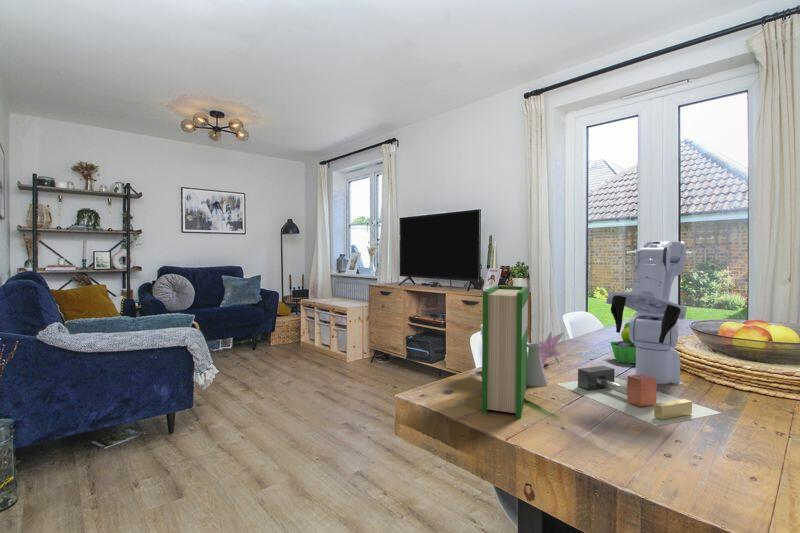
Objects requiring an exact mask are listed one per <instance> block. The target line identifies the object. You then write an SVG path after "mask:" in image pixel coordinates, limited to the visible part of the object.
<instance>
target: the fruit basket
mask: <svg viewBox="0 0 800 533" xmlns="http://www.w3.org/2000/svg"><path fill="white" fill-rule="evenodd" d="M629 325H630V321H628V322H626V323H625V324H624V326H623V329H622V330H621V332H620V333H621V334H620V336H621V339H622V340H619V341H610V342H609V343H610V346H611V350H612V352H613V356H614V359H615V358H616V359H615V360H616V361H617V362H618V363H619V362H627V363H626V364H630V363H636V346H634V345H635V343H632V342H631V341H630V339H629Z"/></svg>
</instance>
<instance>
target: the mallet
mask: <svg viewBox="0 0 800 533" xmlns="http://www.w3.org/2000/svg"><path fill="white" fill-rule="evenodd" d="M626 381H627V387H625V386H622V385H619V384H616V383H614V382H611V381H608V380H605V379H602V378H599V377H597V384H598V385H601V386H603V387H606V388H609V389H611V390H614V391H617V392H619V393H622V394H625V395H627V402H629V403H632V404H634V405H637V406H640V407H642V406H648V405H654V404H656V397H657V390H658V384H657V378H655V377H652V376H649V375H645V374H638V375H636V374H631V375H627V380H626Z"/></svg>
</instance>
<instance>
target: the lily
mask: <svg viewBox="0 0 800 533" xmlns="http://www.w3.org/2000/svg"><path fill="white" fill-rule="evenodd" d="M552 334H553V333H552V332H549V334H547V336H546V338H545V341H537V342H534V343H535V344H540V345H541V348H540V357H541V362H542V365H543V368H545V367H544V366H545V364H546V363H547V361H548V359H549V358H550V359H551V358H555V360H556V361H557V363H559V364H560V361H559V359H558V357H560V356H561V353H560V352H559V350H558V349H557V347H556V346H557V344H558V343H559V341H561V339H562V337H563V336H564V332H562V333H558V334H556V335H554V336H553V335H552Z"/></svg>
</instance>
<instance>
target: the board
mask: <svg viewBox="0 0 800 533" xmlns="http://www.w3.org/2000/svg"><path fill="white" fill-rule="evenodd" d="M614 383H616V384H619V385H622V386H625V387H627V380H624V379H621V378H618V377H616V376H615V378H614ZM556 385H557V386H560V387H562V388H565V389H567V390H569V391H572V392H575V393H577V394H578V395H581V396H583V397H587V398H589V399H591V400H593V401H596V402H598V403H601V404H603V405H605V406H608V407H610V408H612V409H615V410H617V411H619V412H623V413H625V414H627V415H629V416H632V417H634V418H636V419H639V420H640V421H644V422H646V423H648V424H651V425H653V426H655V427H659V426H665V425H670V424H674V423H678V422H679V423H680V422H683V421H690V420H693V419H700V418H704V417H710V416H715V415H719V414H722V412H720V411H717V410H714V409H711V408H708V407H705V406H702V405H699V404H696V403H694V402H692V414H689V415H684V416H678V417H673V418H668V419H663V420H661V419H659V418H656V417H654V405H648V406H642V407H640V406H637V405H634V404H632V403H629V402H627V395H625V394H622V393H619V392H617V391H614V390H611V389H609V388H605V389H598V390H591V391H587V390H584V389H582V388H579V387H578V380H575V381H567V382H560V383H558V382H557V383H556ZM680 399H681V398H678V397H675V396H672V395H670V394H667V393H663V392H660V391H657V397H656V403H662V402H668V401H674V400H680Z"/></svg>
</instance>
